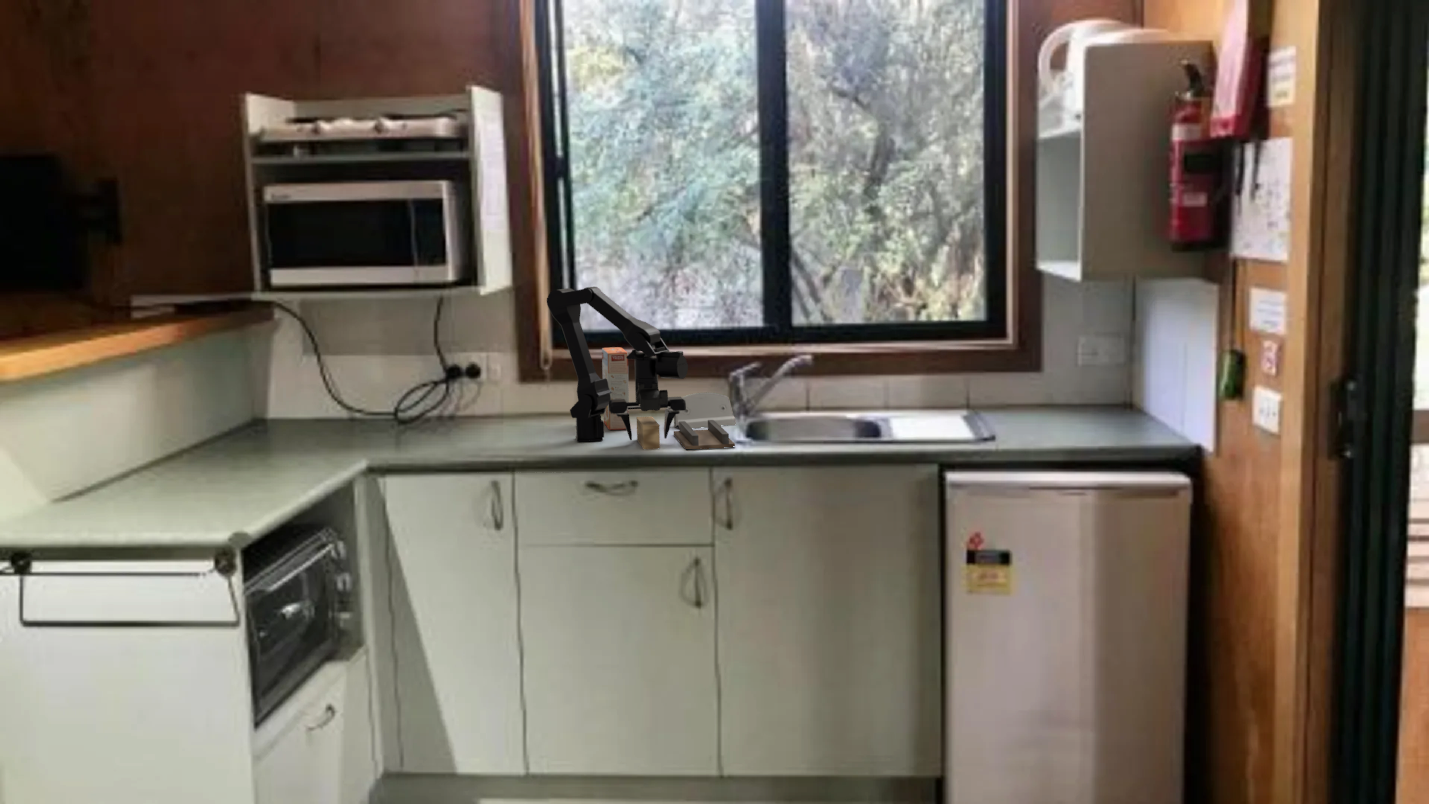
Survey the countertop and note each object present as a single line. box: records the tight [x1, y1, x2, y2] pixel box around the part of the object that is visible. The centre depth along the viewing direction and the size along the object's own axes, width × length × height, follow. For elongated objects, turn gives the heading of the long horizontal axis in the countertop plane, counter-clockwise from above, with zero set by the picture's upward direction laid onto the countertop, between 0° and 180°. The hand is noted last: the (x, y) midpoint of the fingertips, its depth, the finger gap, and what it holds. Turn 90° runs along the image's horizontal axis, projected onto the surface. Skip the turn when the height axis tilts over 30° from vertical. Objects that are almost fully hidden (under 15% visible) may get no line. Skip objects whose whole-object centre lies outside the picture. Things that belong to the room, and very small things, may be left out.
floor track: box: [673, 420, 736, 450], centre depth 335 cm, size 12×22×4 cm, turn 10°
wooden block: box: [636, 416, 661, 450], centre depth 333 cm, size 4×14×6 cm, turn 10°
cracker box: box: [601, 346, 630, 431], centre depth 359 cm, size 14×6×21 cm, turn 10°
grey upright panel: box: [673, 391, 737, 429], centre depth 359 cm, size 17×5×10 cm, turn 110°
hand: (648, 439), depth 333 cm, fingers open, 8 cm apart
